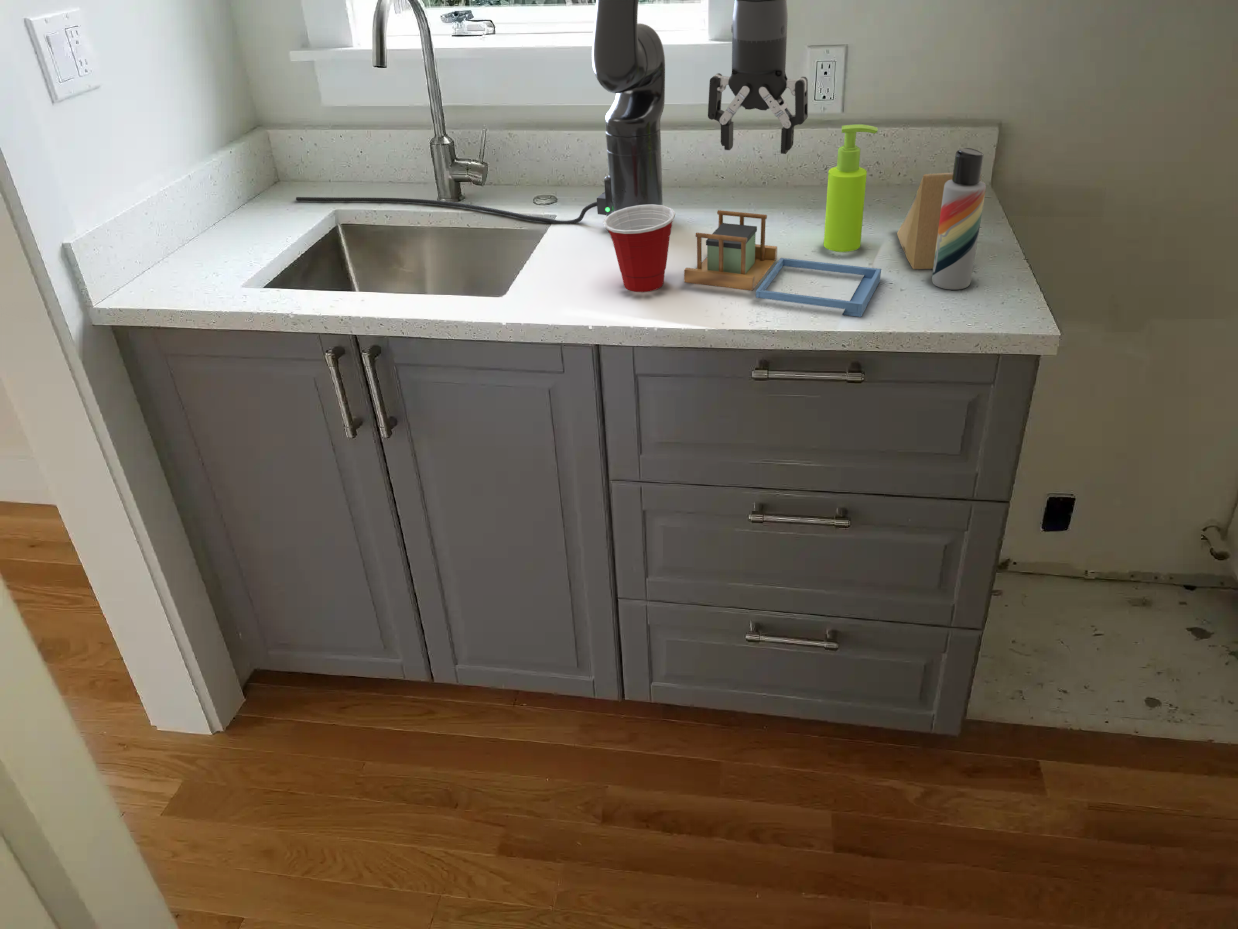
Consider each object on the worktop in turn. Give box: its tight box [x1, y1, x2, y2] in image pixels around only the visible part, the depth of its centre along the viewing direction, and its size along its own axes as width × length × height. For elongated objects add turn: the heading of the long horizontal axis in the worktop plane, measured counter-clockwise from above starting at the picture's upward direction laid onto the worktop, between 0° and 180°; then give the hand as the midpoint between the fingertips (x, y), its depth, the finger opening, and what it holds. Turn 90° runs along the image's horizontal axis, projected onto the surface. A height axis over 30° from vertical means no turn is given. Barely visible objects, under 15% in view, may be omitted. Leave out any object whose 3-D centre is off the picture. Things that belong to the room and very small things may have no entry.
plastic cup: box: [602, 204, 676, 293], centre depth 148 cm, size 11×11×12 cm
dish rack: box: [683, 209, 778, 292], centre depth 152 cm, size 11×13×9 cm
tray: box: [755, 257, 882, 318], centre depth 147 cm, size 16×13×2 cm
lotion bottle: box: [931, 147, 987, 291], centre depth 142 cm, size 6×6×20 cm
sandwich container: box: [896, 172, 982, 270], centre depth 154 cm, size 9×15×15 cm, turn 176°
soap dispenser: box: [823, 124, 879, 253], centre depth 154 cm, size 6×7×20 cm
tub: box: [705, 222, 758, 274], centre depth 152 cm, size 6×8×6 cm
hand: (756, 150), depth 144 cm, fingers open, 8 cm apart
